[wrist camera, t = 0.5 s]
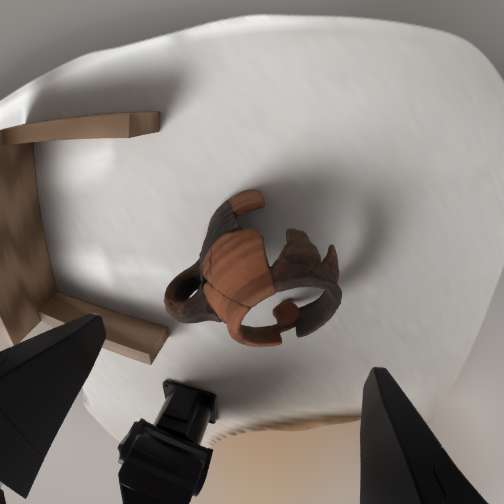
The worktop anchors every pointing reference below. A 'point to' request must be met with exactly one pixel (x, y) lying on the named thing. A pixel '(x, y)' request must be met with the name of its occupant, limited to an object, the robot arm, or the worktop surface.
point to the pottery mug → (253, 279)
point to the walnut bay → (34, 245)
